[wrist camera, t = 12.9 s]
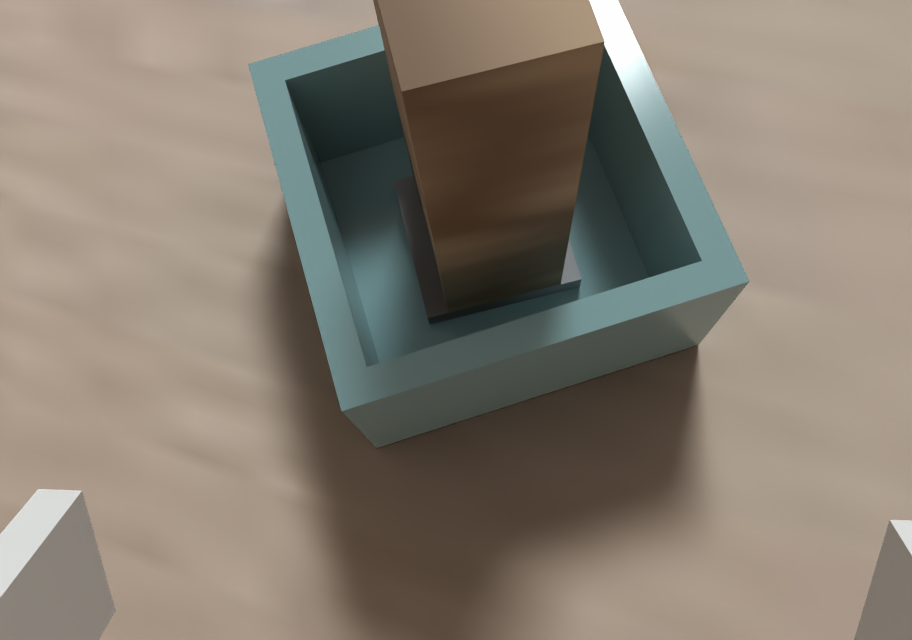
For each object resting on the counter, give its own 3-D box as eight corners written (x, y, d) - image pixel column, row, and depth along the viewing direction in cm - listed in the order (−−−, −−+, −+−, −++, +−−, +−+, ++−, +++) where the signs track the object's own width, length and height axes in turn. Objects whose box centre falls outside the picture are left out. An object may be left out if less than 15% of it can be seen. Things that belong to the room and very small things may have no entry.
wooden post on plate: (537, 154, 24) (561, -175, 14) (579, 286, 23) (642, 31, 12) (396, 190, 24) (310, -114, 14) (429, 324, 23) (363, 100, 12)
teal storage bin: (581, 74, 26) (598, -41, 21) (698, 344, 23) (749, 281, 18) (296, 161, 25) (248, 64, 21) (376, 448, 22) (341, 411, 18)
